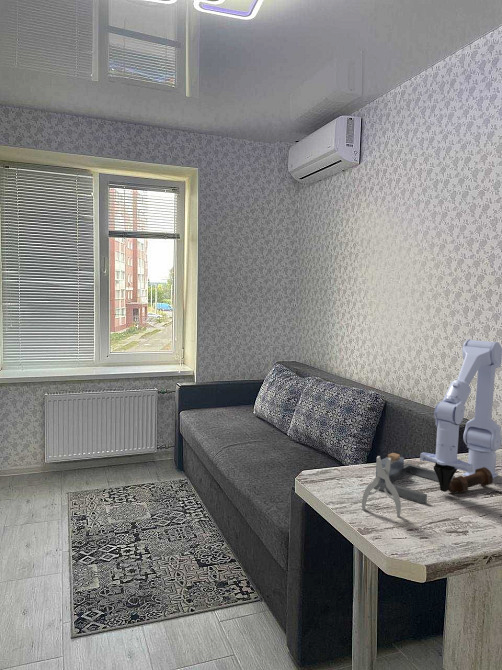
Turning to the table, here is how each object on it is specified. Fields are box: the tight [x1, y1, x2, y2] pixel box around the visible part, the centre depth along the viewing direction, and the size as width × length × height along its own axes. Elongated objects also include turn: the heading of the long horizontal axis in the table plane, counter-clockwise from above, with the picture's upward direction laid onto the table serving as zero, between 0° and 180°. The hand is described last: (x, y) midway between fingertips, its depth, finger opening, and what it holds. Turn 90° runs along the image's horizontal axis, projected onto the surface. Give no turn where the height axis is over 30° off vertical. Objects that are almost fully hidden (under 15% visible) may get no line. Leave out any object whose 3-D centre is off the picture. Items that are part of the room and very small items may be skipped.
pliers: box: [361, 455, 402, 518], centre depth 133 cm, size 10×2×15 cm, turn 64°
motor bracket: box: [373, 452, 456, 505], centre depth 153 cm, size 21×18×7 cm
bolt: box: [447, 467, 494, 494], centre depth 151 cm, size 6×5×15 cm
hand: (444, 490), depth 146 cm, fingers closed
